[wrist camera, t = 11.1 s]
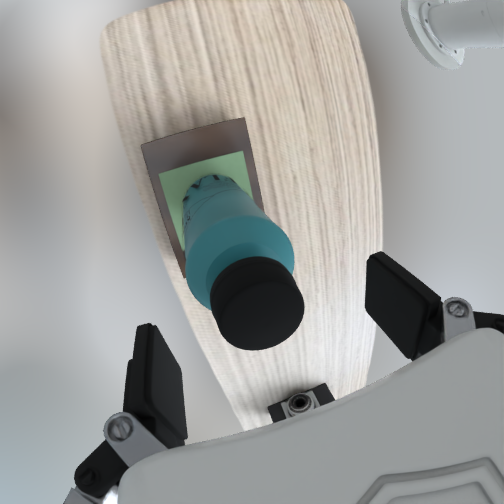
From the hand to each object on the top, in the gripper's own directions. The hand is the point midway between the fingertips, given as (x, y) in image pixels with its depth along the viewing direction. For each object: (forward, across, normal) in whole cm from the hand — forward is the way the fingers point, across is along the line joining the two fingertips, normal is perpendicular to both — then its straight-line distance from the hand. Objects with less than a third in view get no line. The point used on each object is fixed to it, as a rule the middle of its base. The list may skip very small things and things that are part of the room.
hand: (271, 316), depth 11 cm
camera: (+24, -6, +46) cm, 52 cm away
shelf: (+24, +1, 0) cm, 24 cm away
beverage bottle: (+20, +1, 0) cm, 20 cm away
